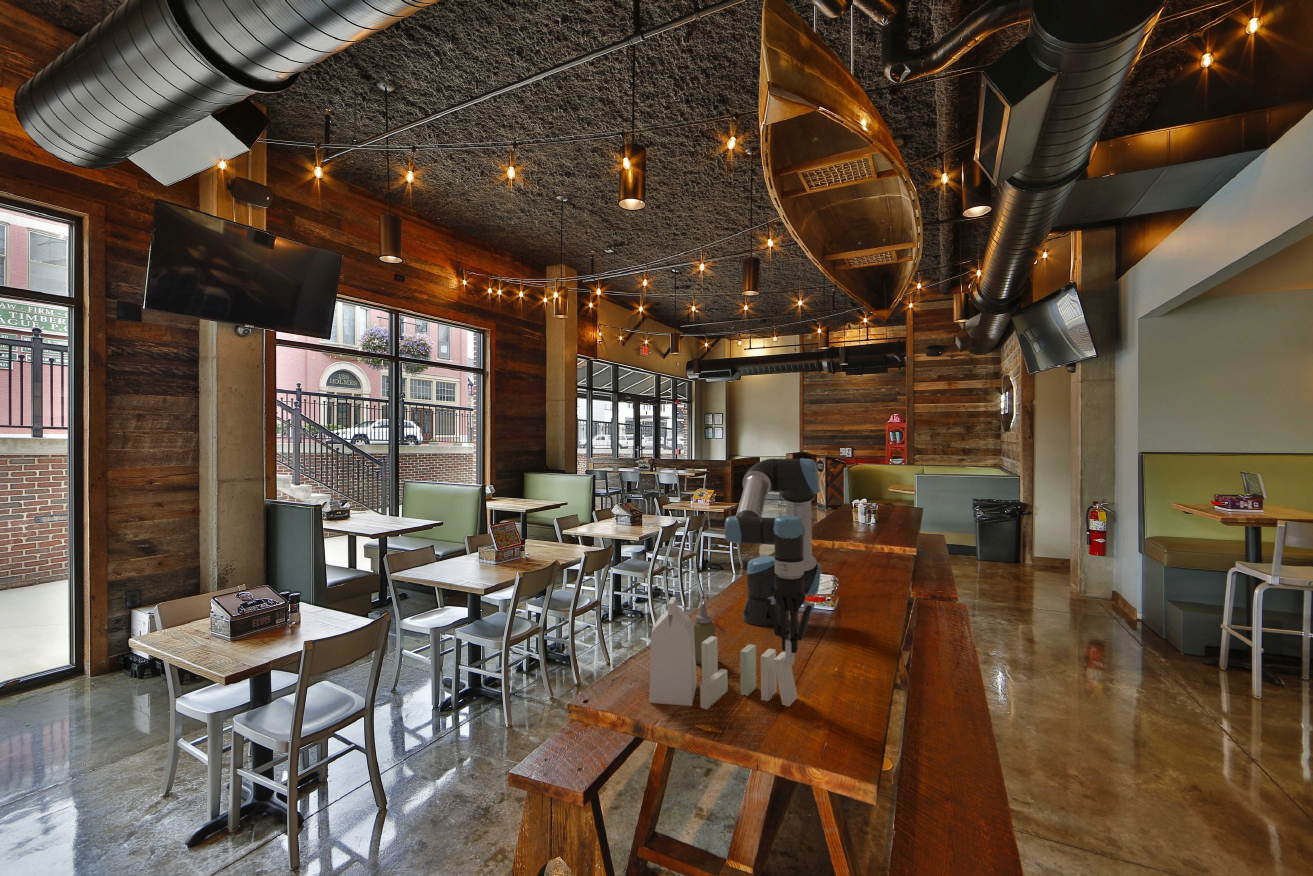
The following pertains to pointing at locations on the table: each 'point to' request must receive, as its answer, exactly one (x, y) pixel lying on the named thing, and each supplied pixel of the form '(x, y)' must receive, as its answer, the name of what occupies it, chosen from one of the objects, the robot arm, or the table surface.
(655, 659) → the milk
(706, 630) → the squeeze bottle
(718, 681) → the domino
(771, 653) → the domino
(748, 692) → the domino
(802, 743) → the table surface
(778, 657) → the domino
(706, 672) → the domino
